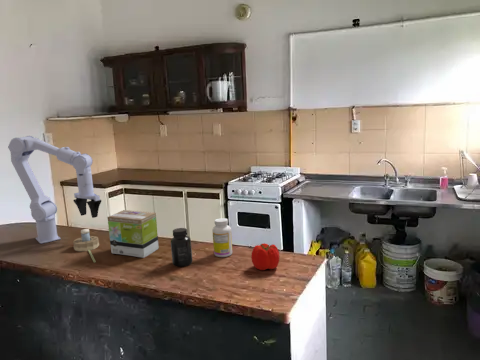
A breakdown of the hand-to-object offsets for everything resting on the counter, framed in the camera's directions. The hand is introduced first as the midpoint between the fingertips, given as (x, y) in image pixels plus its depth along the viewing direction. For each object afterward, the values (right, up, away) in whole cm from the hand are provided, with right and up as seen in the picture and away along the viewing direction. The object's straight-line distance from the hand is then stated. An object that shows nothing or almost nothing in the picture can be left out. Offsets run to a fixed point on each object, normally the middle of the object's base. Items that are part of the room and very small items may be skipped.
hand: (89, 216), depth 169 cm
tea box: (+23, -12, -16) cm, 31 cm away
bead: (+2, -12, -8) cm, 14 cm away
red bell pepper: (+71, -14, -37) cm, 81 cm away
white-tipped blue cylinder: (+2, -12, -8) cm, 14 cm away
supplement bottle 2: (+57, -12, -23) cm, 62 cm away
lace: (+8, -13, -19) cm, 24 cm away
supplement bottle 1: (+43, -14, -29) cm, 54 cm away
